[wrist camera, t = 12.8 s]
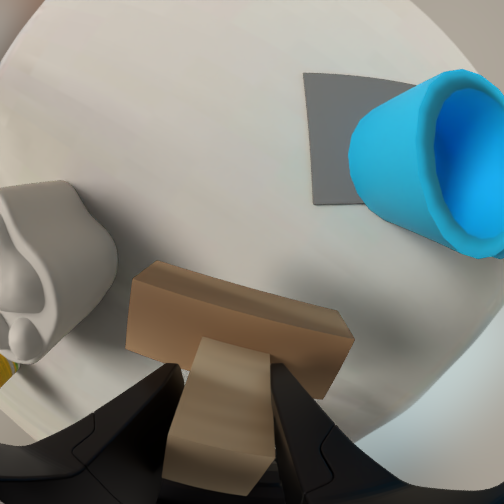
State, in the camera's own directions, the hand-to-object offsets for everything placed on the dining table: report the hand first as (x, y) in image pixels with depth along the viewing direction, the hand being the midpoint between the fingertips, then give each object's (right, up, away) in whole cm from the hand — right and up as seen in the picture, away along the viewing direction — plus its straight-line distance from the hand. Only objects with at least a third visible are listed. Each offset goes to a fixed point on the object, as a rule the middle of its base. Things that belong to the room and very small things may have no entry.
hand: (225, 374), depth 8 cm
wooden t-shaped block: (0, 0, +4) cm, 4 cm away
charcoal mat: (+11, +11, +7) cm, 17 cm away
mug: (+12, +9, +8) cm, 17 cm away
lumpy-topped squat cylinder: (-16, +3, +11) cm, 19 cm away
